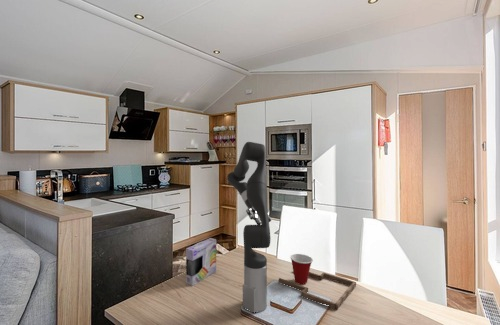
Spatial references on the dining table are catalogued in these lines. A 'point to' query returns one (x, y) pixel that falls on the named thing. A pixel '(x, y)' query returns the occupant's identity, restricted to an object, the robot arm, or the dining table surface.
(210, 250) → the cake pan box
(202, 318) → the dining table surface
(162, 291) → the dining table surface
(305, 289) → the T fence
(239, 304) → the dining table surface
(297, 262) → the plastic cup
